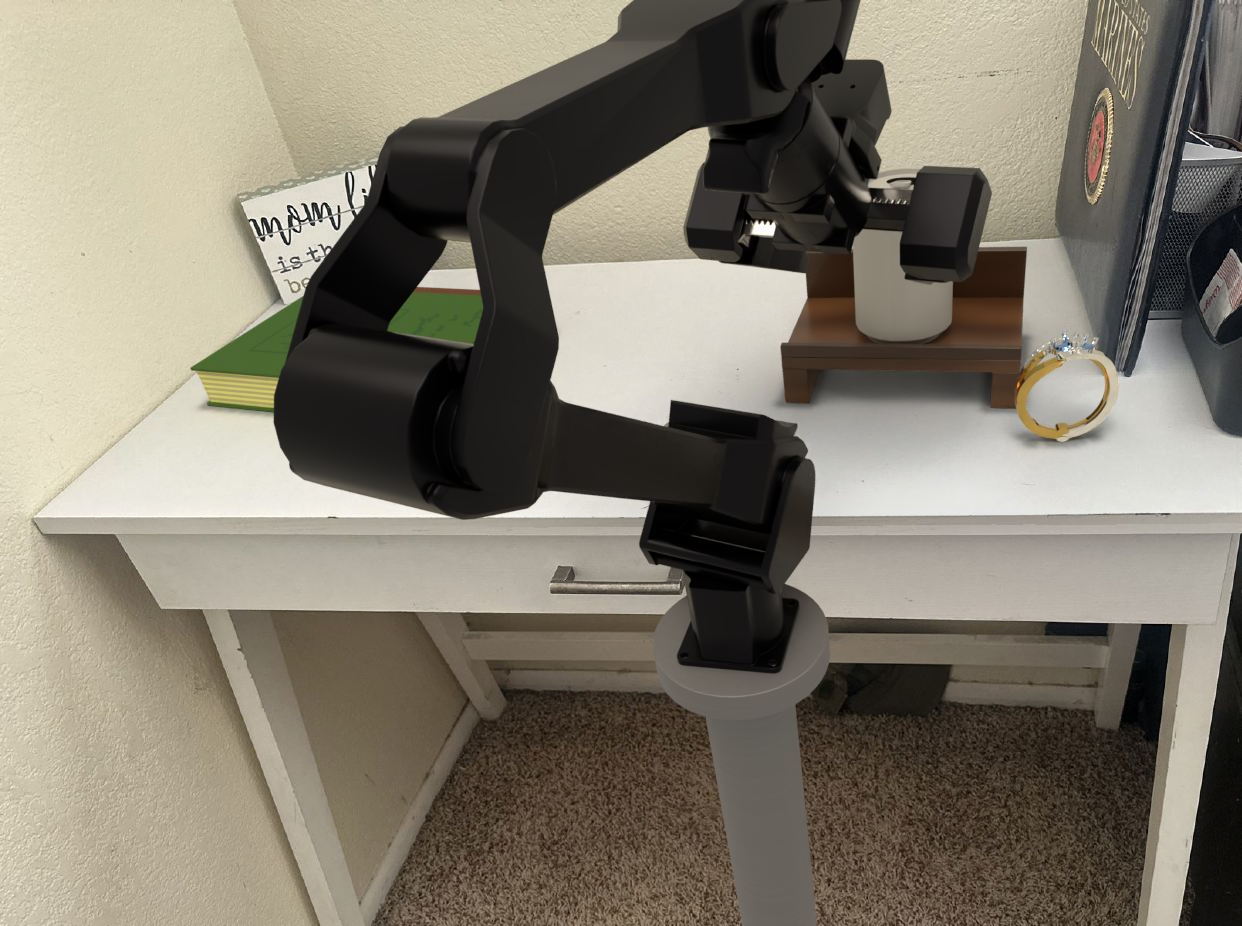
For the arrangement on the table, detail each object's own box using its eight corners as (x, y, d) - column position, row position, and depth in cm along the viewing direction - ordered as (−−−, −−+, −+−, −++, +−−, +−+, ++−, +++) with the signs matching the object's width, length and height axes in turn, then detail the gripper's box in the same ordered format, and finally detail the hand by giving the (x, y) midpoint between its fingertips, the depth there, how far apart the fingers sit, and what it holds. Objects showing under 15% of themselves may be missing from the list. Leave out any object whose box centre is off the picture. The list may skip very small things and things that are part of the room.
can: (960, 313, 82) (964, 160, 75) (941, 355, 77) (944, 194, 69) (869, 308, 85) (865, 160, 77) (845, 348, 79) (838, 193, 72)
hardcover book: (541, 329, 98) (532, 292, 96) (433, 427, 84) (420, 387, 82) (330, 316, 106) (318, 282, 104) (201, 404, 92) (183, 367, 90)
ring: (1106, 424, 74) (1120, 322, 69) (1116, 448, 71) (1130, 343, 67) (1008, 429, 75) (1015, 328, 70) (1014, 452, 72) (1021, 349, 67)
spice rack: (1017, 408, 77) (1024, 309, 72) (784, 402, 81) (776, 309, 77) (1020, 338, 86) (1027, 246, 81) (811, 336, 91) (805, 249, 86)
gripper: (991, 16, 53) (1028, 167, 67) (680, 22, 61) (773, 157, 75) (941, 218, 52) (990, 328, 66) (633, 199, 60) (736, 301, 74)
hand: (866, 271), depth 70 cm, fingers open, 9 cm apart
